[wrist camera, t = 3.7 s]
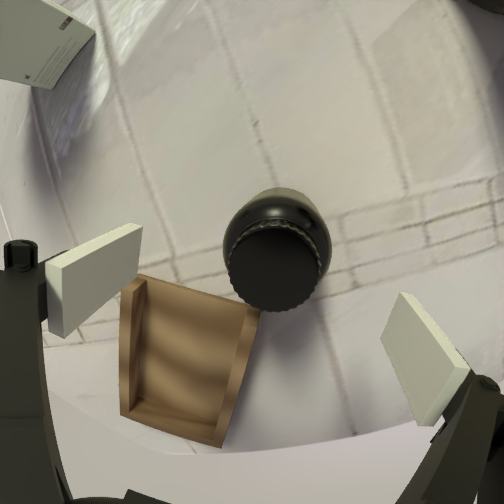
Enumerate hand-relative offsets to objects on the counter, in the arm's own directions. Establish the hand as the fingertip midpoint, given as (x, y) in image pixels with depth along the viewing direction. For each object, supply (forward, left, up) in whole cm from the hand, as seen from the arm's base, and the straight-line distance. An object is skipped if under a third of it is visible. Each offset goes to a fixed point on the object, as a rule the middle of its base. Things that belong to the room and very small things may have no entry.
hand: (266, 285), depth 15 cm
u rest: (+16, -6, -13) cm, 22 cm away
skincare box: (-14, -27, -13) cm, 33 cm away
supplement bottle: (0, 0, -13) cm, 13 cm away
